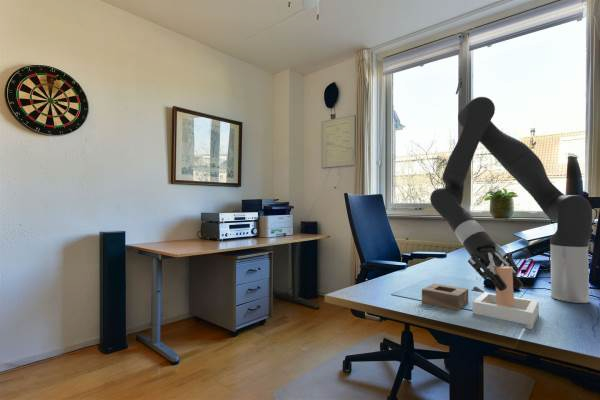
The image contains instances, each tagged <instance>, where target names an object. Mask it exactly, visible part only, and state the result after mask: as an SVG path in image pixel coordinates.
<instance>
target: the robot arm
mask: <svg viewBox="0 0 600 400" xmlns="http://www.w3.org/2000/svg"><path fill="white" fill-rule="evenodd" d="M495 111H496V106H495V103H494V102H493V101H492V99H490V98H489V97H486V96H476V97H475V98H472V99H471V100H469V101H468V102H467V103H466V104H465V105H464V106H462V108H461V109H460V111H459V112H458V115H457V120H458V122H459V125H460V126H461V127H462V131H461V133H460V136H459V138H458V140H457V142H456V144H455V146H454V148H453V150H452V152H451V153H450V155H449V158H448V159H447V163H446V166H445V167H444V171H443V174H442V178H441V179H442V180H441V181H442V182H443V183H444V186H445V188H443V187H441V188H440V187H439V188H435V189H434V190H433V191H432V192H431V193H430V198H429V199H430V200H429V201H430V203H431V205H432V207H433V208H434V210H435V211H437V212H438V214H439V216H441V217H442V218H443V219H444V220H445V221H446V222H447V223H448V225H449V226H450V228H451V230H452V231H453V232H454V234H455V236H456V237H457V239H458V241H459V243H461V245H462V246H463V248H464V249H465V250H466V252H467V253H468V254H469V256H470V257H469V259H468V260H467V262H468V264H469V265H470V266H471V267H472V268H473V269H474V270H475V271H476V272H477V273H478V274H479V275H480V277H481V278H483V279H484V278H487V279H489V280H490V281H491V282H492V283H493V285H494V286H495V288H496V287H497V288H498V289H499V291H503V290H505V289H506V288H507V286H506V284H505V283H504V282H503V280H502V279H501V278H500V276H499V275H496V274H497V272H496V270H495V267H496V266H506V267H511V268H512V275H513V288H514V289H516V290H520V289H521V288H523V287H524V284H523V282H522V281H521V279H520V277H518V275H517V274H516V273H517V272H518V271H519V270H520V269H519V268H518V266H517V264H516V262H515V261H514V259H513V257H512V256H511V255H510V253H507V252H506V253H505V254H501V253H500V252H499V251H498V250H497V249H496V243H495V241H494V240H493V238H492V237H491V236H490V235H489V234H488V233H487V232H486V230H485V229H484V227H482V225H480V224H479V223H478V221H476V219H475V218H474V217H473V215H472V214H471V213H470V212H469V211H468V209H466V208H464V207H462V206H461V205H462V202H463V199H464V189H465V187H464V186H465V185H464V184H465V181H466V178H467V175H468V172H469V170H470V167H471V164H472V162H473V158H474V155H475V154H476V150H477V149H478V145H479V143H480V144H482V145H483V146H484V148H486V150H487V151H488V152H489V153H490V154H491V155H492V156H493V158H494V159H496V160H497V161H498V163H499V164H500V165H501V166H502V167H503V169H504V170H505V171H507V172H508V173H509V175H510V176H512V178H513V179H514V180H515V181H516V182H518V184H519V185H520V186H521V187H522V188H523V189H524V190H525V191H526V192H527V193H528V194H529V195H530V196H531V197H532V199H533V200H534V201H535V203H536V204H537V205H538V206H539V208H540V209H541V210H542V211H543V213H544V214H545V215H546V217H547V218H548V219H550V220H551V221H552V222H555V223H557V224H556V225H557V226H556V231H555V232H554V234H551V235H550V239H549V241H550V243H549V245H550V247H549V249H550V250H549V251H550V297H551V298H553V299H556V300H559V301H563V302H568V303H573V304H574V303H576V304H587V303H589V302H590V285H589V284H590V281H589V280H590V278H589V277H590V276H589V274H590V273H589V271H590V270H589V267H590V266H589V241H590V239H591V237H592V231H593V207H592V205H591V203H590V201H589V200H588V199H587V198H586V197H584V196H582V195H578V194H572V195H571V194H564V193H563V192H562V191H561V190H559V189H558V188H557V186H555V185H554V184H553V183H552V181H551V180H550V179H549V177H548V175H547V172H546V170H545V169H546V168H545V166H544V164H543V162H542V160H541V159H540V158H539V156H538V155H537V154H536V153H535V152H534V151H533V150H532V149H531V148H530V147H529V146H528V145H527V144H526V143H524V142H523V141H522V140H519V139H518V138H515V137H513V136H511V135H510V134H507V133H505V132H504V131H502V130H500V129H499V128H498V127H497V126H496V125H495V124H494V123H493V121H492V119H493V117H494V115H495V113H496V112H495Z"/></svg>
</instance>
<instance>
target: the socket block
mask: <svg viewBox="0 0 600 400" xmlns="http://www.w3.org/2000/svg"><path fill="white" fill-rule="evenodd" d="M421 304H425V305H429V306H434V307H438V308H443V309H444V308H445V309H449V310H453V311H458V312H459V311H460V310H461V309H462V308H463V307H465V306H466V305H467V304H469V288H467V287H466V288H465V287H458V286H452V285H446V284H441V283H434V282H433V283H432V284H430V285H427V286H426V287H424V288H422V289H421Z"/></svg>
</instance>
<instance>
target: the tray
mask: <svg viewBox="0 0 600 400" xmlns="http://www.w3.org/2000/svg"><path fill="white" fill-rule="evenodd" d="M539 303H540V302H539V300H535V299H528V298H523V297H517V296H514V308H512V307H507V306H501V305H497V302H496V293H492V292H486V291H484V293H481V294H480V295H479V296H478V297H476V298H475V299H474V300H473V301H472V314H476V315H479V316H485V317H488V318H490V317H491V318H494V319H500V320H504V321H509V322H514V323H518V324H523V328H524V329H529V330H534V327H535V326H536V323H537V320H538V319H539V317H540V304H539Z"/></svg>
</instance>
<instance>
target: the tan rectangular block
mask: <svg viewBox="0 0 600 400" xmlns="http://www.w3.org/2000/svg"><path fill="white" fill-rule="evenodd" d="M512 269H513V267H506V266H503V265H501V266H496V267H495V270H496V272H497V274H496V275H499V276H500V278H501V279H502V280H503V282H504V283H505V284H506V286H507V288H506V289H505V290H503V291H499V289H498V288H497V287H496V286H495V294H496V302H497V305H501V306H507V307H512V308H514V297H515V295H514V286H513V275H512Z"/></svg>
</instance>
